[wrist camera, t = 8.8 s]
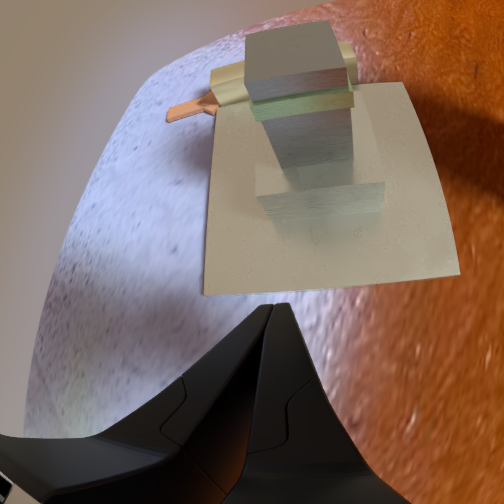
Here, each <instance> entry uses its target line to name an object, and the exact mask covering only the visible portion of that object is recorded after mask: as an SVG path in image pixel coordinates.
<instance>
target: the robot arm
mask: <svg viewBox="0 0 504 504" xmlns="http://www.w3.org/2000/svg"><path fill="white" fill-rule="evenodd" d="M0 471H1V472H2V473H3V474H4V475H5V476H7V477H8V478H9V479H10V480H11V481H12V482H13V484H11V483H10V482H9V481H7V480H6V479H5V478H4V477H2V476H1V475H0V504H412V503H410V502H409V501H408V500H406V499H405V498H404V497H403V496H401V495H400V494H399V493H398V492H396V491H395V490H394V489H393V488H392V487H390V486H389V485H388V484H387V483H385V482H384V481H383V480H382V479H381V478H379V477H378V476H377V475H376V474H375V473H374V471H373V470H372V469H371V468H370V467H369V465H368V464H367V462H366V461H365V460H364V458H363V457H362V455H361V454H360V452H359V451H358V449H357V447H356V446H355V444H354V443H353V441H352V439H351V438H350V436H349V435H348V433H347V431H346V430H345V428H344V427H343V425H342V423H341V422H340V420H339V419H338V417H337V415H336V413H335V411H334V410H333V408H332V406H331V404H330V402H329V400H328V398H327V396H326V393H325V391H324V389H323V386H322V384H321V381H320V379H319V377H318V374H317V371H316V369H315V366H314V364H313V361H312V359H311V356H310V353H309V351H308V348H307V346H306V343H305V341H304V338H303V336H302V333H301V331H300V328H299V325H298V323H297V320H296V318H295V315H294V313H293V310H292V308H291V305H290V303H277V304H275V305H274V304H264V305H260V306H258V307H257V308H256V309H255V310H254V311H253V312H252V313H251V314H250V315H248V316H247V317H246V318H245V319H244V320H243V321H242V322H241V323H240V324H239V325H237V326H236V327H235V328H234V329H233V330H232V331H231V332H230V333H229V334H227V335H226V336H225V337H224V338H223V339H222V340H221V341H220V342H219V343H217V344H216V345H215V346H214V347H213V348H212V349H211V350H210V351H208V352H207V353H206V354H205V355H204V356H203V357H202V358H200V359H199V360H198V361H197V362H196V363H195V364H194V365H192V366H191V367H190V368H189V369H188V370H187V371H186V372H184V373H183V374H182V376H180V377H178V378H177V379H176V380H175V381H174V382H173V383H171V384H170V385H169V386H168V387H166V388H165V389H164V390H163V391H161V392H160V393H159V394H158V395H156V396H155V397H154V398H152V399H151V400H149V401H148V402H147V403H145V404H144V405H142V406H141V407H140V408H138V409H137V410H135V411H134V412H132V413H131V414H129V415H128V416H126V417H125V418H123V419H122V420H120V421H119V422H117V423H116V424H114V425H112V426H111V427H109V428H108V429H106V430H104V431H103V432H101V433H99V434H96V435H93V436H90V437H85V438H66V439H41V438H17V437H9V436H5V435H1V434H0Z"/></svg>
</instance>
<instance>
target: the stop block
mask: <svg viewBox="0 0 504 504" xmlns="http://www.w3.org/2000/svg"><path fill="white" fill-rule="evenodd" d="M338 45H339V48H340V51H341V53H342V56H343V59H344V62H345V64H346V68H347V73H348V76H349V80H350V83H351V84H358V72H357V61H356V56H355V53H354V51H353V49H352V47H351V45H350V43H349V42H341V43H338ZM244 65H245V60H244V61H241V62H237V63H233V64H230V65H226V66H223V67H219V68H216V69H213V70H211V75H210V85H209V87H210V88H211V90H212V92H213V93H214V95H215V97H216V99H217V100H218V102H219V104H220V105H221V107H224V106H228V105H233V104H237V103H241V102H246V101H250V96H249V94H248V92H247V90H246V87H245V85H244Z"/></svg>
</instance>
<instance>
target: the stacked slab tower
mask: <svg viewBox="0 0 504 504" xmlns="http://www.w3.org/2000/svg"><path fill="white" fill-rule="evenodd" d="M244 85H245V87H246V90H247V92H248V94H249V96H250V101H246V102H241V103H237V104H233V105H228V106H224V107H220V108H217V114H216V124H215V134H214V145H213V155H212V167H211V179H210V192H209V205H208V220H207V236H206V254H205V274H204V296H206V297H218V296H240V295H259V294H277V293H293V292H307V291H321V290H334V289H346V288H358V287H369V286H379V285H389V284H399V283H409V282H418V281H427V280H435V279H444V278H452V277H458V276H459V275H460V270H459V264H458V258H457V252H456V247H455V241H454V236H453V232H452V227H451V222H450V218H449V214H448V210H447V206H446V202H445V198H444V194H443V191H442V187H441V183H440V180H439V177H438V173H437V170H436V167H435V164H434V161H433V158H432V155H431V152H430V149H429V146H428V143H427V140H426V137H425V135H424V132H423V129H422V127H421V124H420V122H419V119H418V117H417V114H416V112H415V109H414V107H413V105H412V102H411V100H410V98H409V95H408V93H407V91H406V89H405V87H404V84H403V82H389V83H371V84H358V85H351V83H350V80H349V76H348V73H347V68H346V64H345V62H344V59H343V56H342V53H341V51H340V48H339V45H338V43H337V40H336V38H335V35H334V32H333V30H332V28H331V25H330V23H329V20H327V21H319V22H311V23H304V24H298V25H292V26H286V27H280V28H275V29H270V30H265V31H261V32H256V33H252V34H248V35H246V40H245V65H244Z"/></svg>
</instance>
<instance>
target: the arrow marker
mask: <svg viewBox="0 0 504 504" xmlns="http://www.w3.org/2000/svg"><path fill="white" fill-rule="evenodd" d="M220 107H221V105H220V104H219V102H218V100H217V99H216V97H215V95H214V93H213V92H212V90H211V91H210V92H209V93H207V94H206V95H205V96H204V97H201V98H197V99H194V100H191V101H188V102H185V103H182V104H179V105H176V106H173V107H170V108H169V110H168V115H167V121H168V122H172V121H175V120H178V119H181V118H185V117H188V116H191V115H194V114H198V113H201V112H204V111H206V112H208V113H210V114H212V115H215V114H216V113H217V108H220Z"/></svg>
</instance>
